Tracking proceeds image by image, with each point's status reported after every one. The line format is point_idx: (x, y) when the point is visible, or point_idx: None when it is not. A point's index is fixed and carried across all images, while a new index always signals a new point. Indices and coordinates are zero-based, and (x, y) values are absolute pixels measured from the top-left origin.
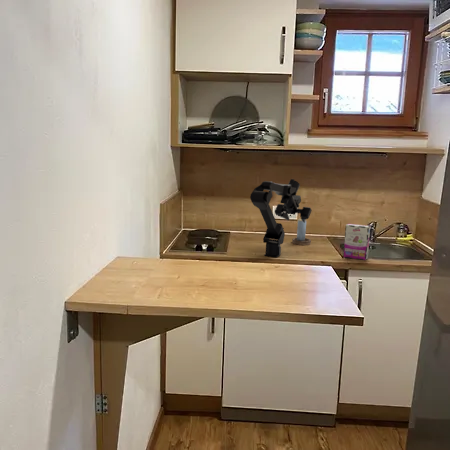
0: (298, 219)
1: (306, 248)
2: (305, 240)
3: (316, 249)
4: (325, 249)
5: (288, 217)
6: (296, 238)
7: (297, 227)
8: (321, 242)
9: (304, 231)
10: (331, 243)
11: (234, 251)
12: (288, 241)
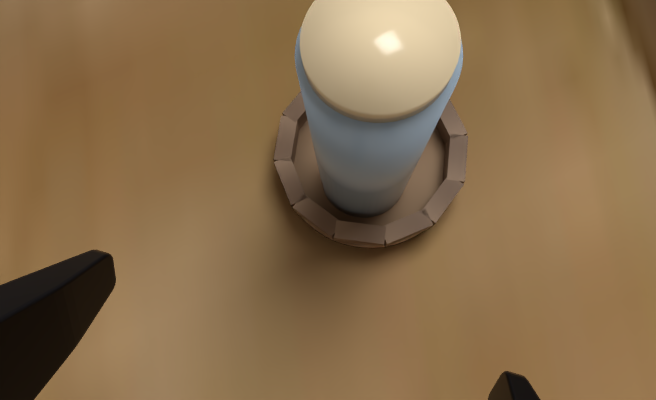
0: (305, 69)
1: (456, 385)
2: None
3: (563, 388)
4: (650, 344)
5: (56, 308)
6: None
7: (310, 130)
8: (541, 49)
9: (416, 163)
10: (637, 50)
11: None
12: (240, 143)
